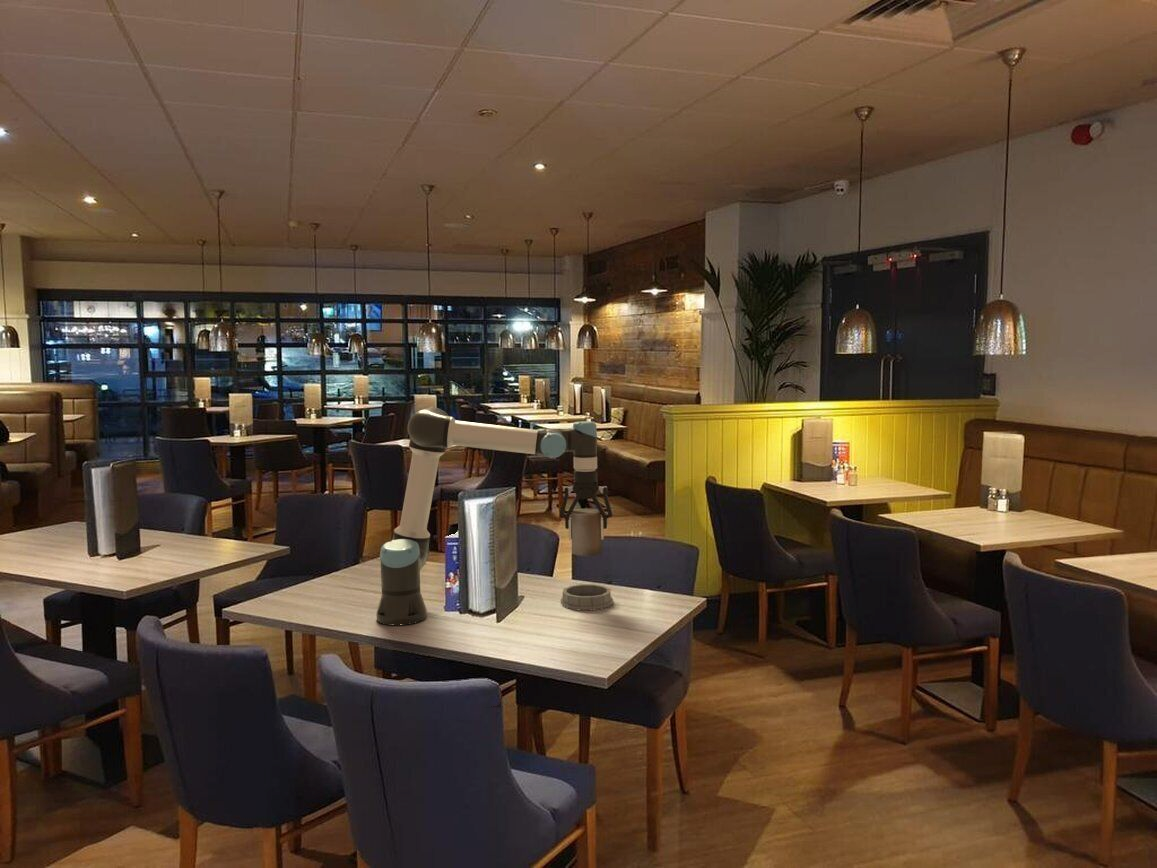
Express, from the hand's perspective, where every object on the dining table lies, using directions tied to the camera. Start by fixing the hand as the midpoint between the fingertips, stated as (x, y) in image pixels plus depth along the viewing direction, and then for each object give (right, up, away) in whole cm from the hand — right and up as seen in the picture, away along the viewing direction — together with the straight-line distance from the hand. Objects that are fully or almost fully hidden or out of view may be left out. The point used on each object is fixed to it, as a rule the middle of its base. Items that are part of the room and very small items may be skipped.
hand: (586, 538), depth 272 cm
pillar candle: (0, -5, +1) cm, 5 cm away
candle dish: (0, -21, +2) cm, 21 cm away
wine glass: (-44, -19, +32) cm, 57 cm away
